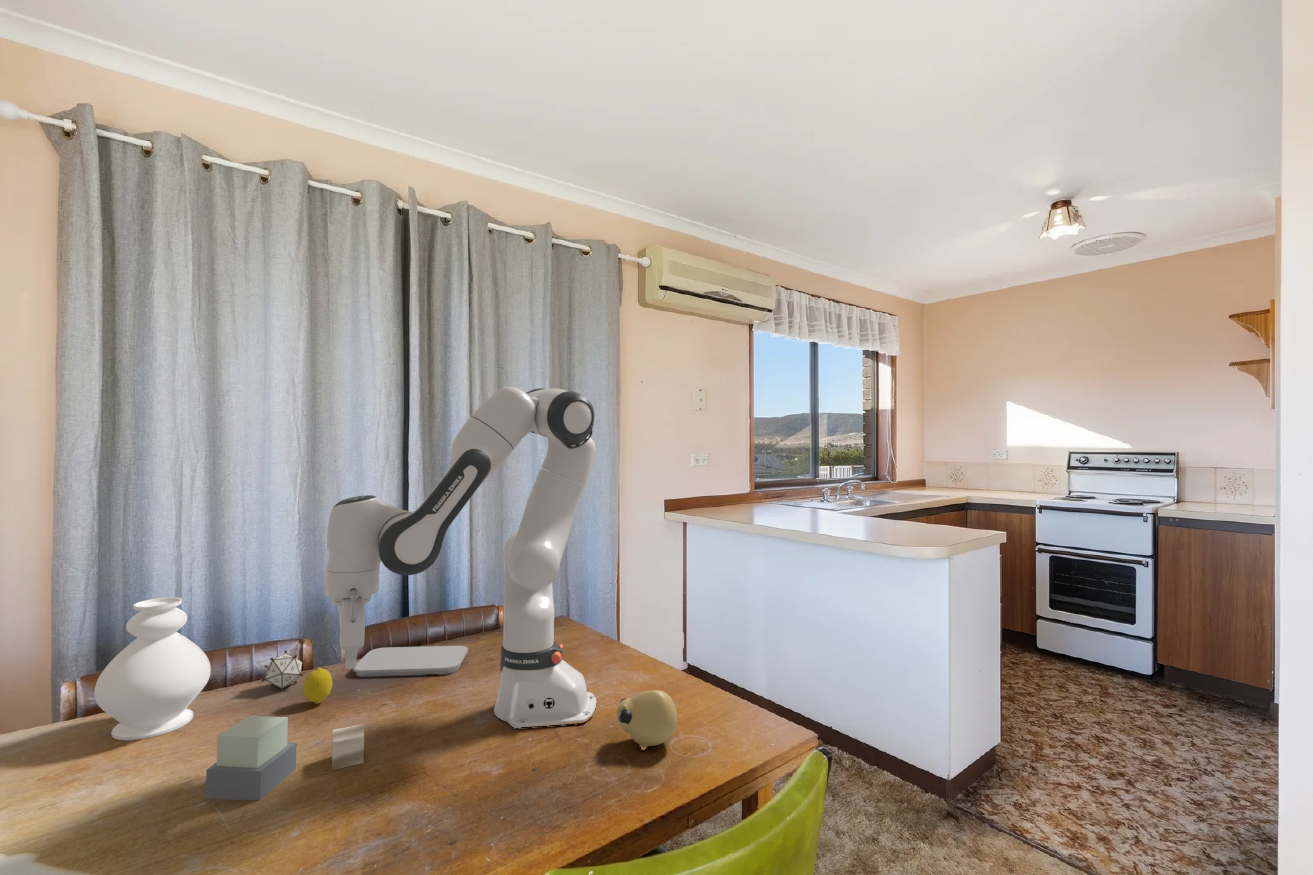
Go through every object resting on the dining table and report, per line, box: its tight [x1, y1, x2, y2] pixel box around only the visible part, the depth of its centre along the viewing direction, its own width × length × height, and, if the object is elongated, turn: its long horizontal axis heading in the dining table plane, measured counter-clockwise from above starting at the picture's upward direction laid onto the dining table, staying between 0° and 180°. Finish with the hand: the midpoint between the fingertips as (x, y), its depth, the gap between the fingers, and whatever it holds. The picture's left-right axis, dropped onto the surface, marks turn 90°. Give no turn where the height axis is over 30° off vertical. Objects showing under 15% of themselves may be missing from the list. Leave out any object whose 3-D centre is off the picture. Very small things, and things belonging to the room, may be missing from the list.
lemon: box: [303, 667, 333, 705], centre depth 127 cm, size 6×6×8 cm
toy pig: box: [616, 689, 678, 748], centre depth 113 cm, size 10×12×11 cm
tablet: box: [352, 645, 469, 678], centre depth 151 cm, size 16×26×2 cm, turn 97°
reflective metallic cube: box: [331, 723, 365, 771], centre depth 105 cm, size 5×5×5 cm
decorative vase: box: [93, 596, 212, 741], centre depth 117 cm, size 18×18×25 cm
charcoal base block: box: [205, 741, 297, 801], centre depth 97 cm, size 9×9×5 cm
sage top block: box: [216, 715, 289, 768], centre depth 97 cm, size 7×7×5 cm
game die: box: [260, 649, 307, 693], centre depth 135 cm, size 9×8×10 cm
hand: (349, 658), depth 105 cm, fingers open, 8 cm apart
